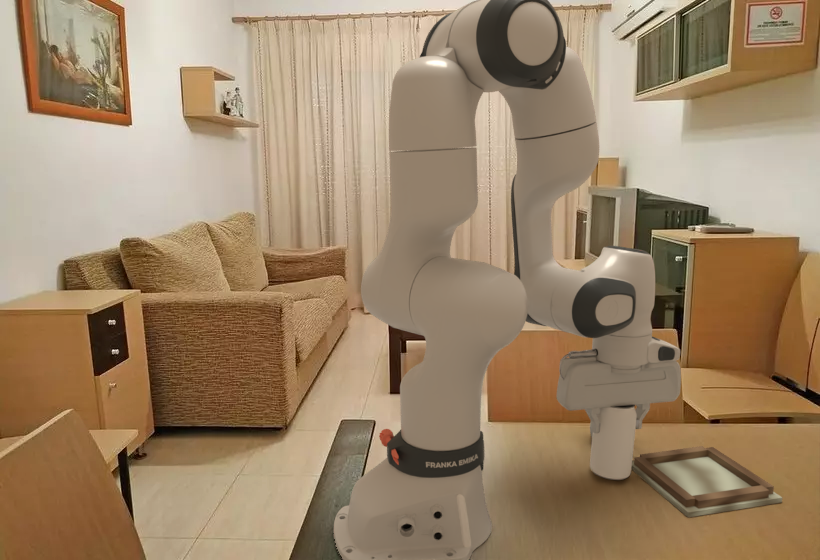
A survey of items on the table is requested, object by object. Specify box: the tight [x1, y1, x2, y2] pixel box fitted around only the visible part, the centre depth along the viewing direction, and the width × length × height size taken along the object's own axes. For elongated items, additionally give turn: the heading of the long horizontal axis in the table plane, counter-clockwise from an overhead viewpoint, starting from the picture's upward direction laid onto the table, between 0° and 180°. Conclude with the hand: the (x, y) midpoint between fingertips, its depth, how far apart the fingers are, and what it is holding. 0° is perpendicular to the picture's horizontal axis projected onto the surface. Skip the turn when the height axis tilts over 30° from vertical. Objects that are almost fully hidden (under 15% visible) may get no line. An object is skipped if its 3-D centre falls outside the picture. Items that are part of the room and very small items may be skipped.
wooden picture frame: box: [631, 445, 783, 518], centre depth 99 cm, size 16×16×2 cm
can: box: [589, 405, 637, 481], centre depth 101 cm, size 6×6×12 cm
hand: (616, 429), depth 101 cm, fingers open, 5 cm apart
